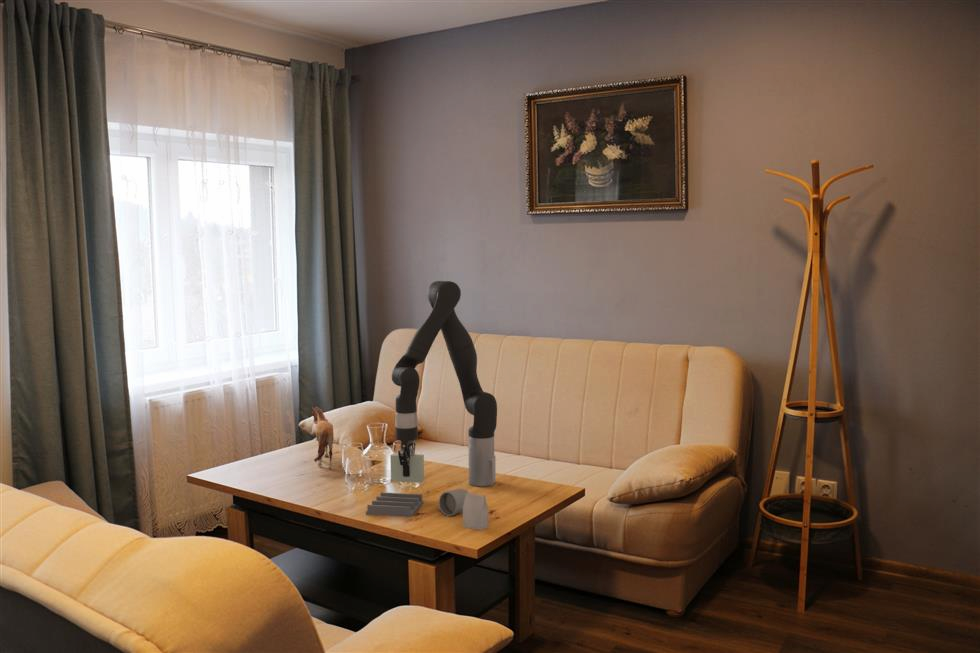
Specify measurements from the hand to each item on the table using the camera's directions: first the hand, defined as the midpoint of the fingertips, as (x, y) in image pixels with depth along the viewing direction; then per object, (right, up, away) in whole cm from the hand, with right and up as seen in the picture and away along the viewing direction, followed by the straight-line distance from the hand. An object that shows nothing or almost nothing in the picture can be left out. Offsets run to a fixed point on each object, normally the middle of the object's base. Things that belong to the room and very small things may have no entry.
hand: (407, 474), depth 281 cm
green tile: (0, -2, 0) cm, 2 cm away
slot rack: (-3, -9, -13) cm, 16 cm away
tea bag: (+24, -10, -31) cm, 40 cm away
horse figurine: (-40, -4, +44) cm, 60 cm away
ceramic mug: (+16, -9, -17) cm, 25 cm away
